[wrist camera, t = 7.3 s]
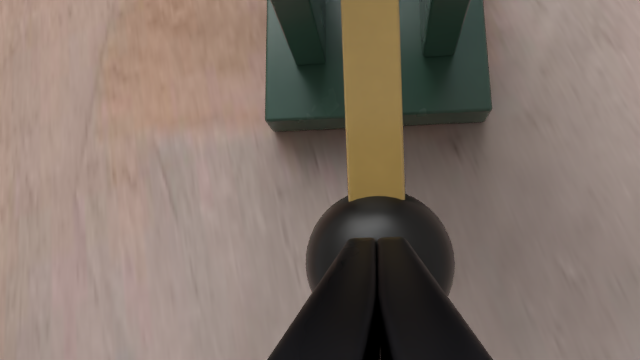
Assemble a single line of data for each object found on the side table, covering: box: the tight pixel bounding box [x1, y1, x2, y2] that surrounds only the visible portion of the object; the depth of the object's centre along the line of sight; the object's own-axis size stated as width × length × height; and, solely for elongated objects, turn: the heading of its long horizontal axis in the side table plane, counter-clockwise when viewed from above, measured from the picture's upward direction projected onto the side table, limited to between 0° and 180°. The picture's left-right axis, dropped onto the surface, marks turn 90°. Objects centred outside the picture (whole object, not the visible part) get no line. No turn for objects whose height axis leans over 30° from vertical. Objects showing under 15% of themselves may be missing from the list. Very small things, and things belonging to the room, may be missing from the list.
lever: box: [306, 0, 455, 297], centre depth 10 cm, size 12×3×3 cm, turn 0°
